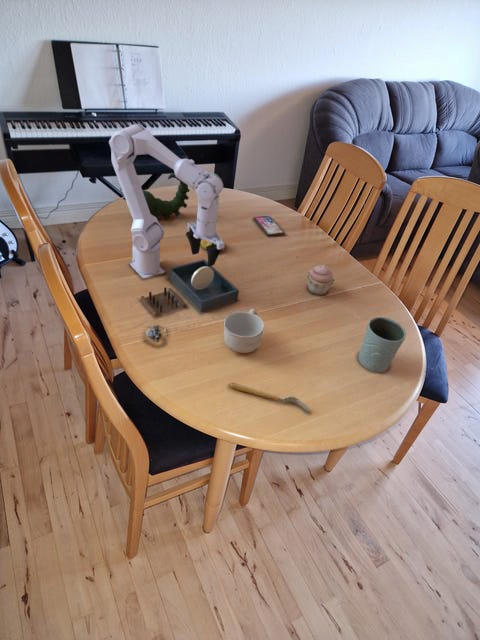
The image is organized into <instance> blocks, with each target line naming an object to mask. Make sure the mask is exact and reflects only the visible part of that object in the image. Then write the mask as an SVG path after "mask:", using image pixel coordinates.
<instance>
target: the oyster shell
mask: <svg viewBox="0 0 480 640" xmlns="http://www.w3.org/2000/svg"><path fill="white" fill-rule="evenodd" d="M162 329H163V332H164V333H165V335H168V333H167V332H168V330H167V328H166V327H162V326H161V325H158V324H157V325H153V326H152V327H151V326H147V327H146V329H145V331H144V335H145V336H146V337H148V338H150V340H152V342H156V343H158V342H159V339H160V338H161V336H162V334H161V331H162Z"/></svg>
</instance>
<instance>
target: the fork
mask: <svg viewBox="0 0 480 640" xmlns="http://www.w3.org/2000/svg"><path fill="white" fill-rule="evenodd" d="M230 388H231V389H233V390H237V391H240V392H243V393H248V394H252V395H254V396H255V395H256V396H260V397H263V398H267V399H271V400H274V401H279V402H290V403H293V404H296V405H298V406H299V407H301V408H302V409H304V410H305V411H306V412H307V413H308V412H309V411H310V409H311V408H310V407H309V406H308V405H307V404H305V403H304V402H303V401H301V399H299V398H298V397H296V396H292V395H290V396H286V397H284V398H282V397H279V396H277V395H274V394H270V393H267V392H264V391H261V390H257V389H254V388H251V387H248V386H245V385H242V384H238V383H235V382H231V383H230Z"/></svg>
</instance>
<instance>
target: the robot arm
mask: <svg viewBox="0 0 480 640" xmlns="http://www.w3.org/2000/svg"><path fill="white" fill-rule="evenodd" d="M108 145H109V147H110V152H111V158H110V159H111V160H110V161H111V165H112V167H113V169H114V172H115V175H116V178H117V180H118V183H119V185H120V188H121V191H122V194H123V196H124V197H125V199H126V201H125V202H126V204H127V207H128V210H129V212H130V215H131V218H132V224H131V227H130V228H131V229H130V232H131V237H132V238H131V241H132V249H131V251H132V262H130V263H129V265H130V266H131V268H132V269H133V270H134V271H136V272H137V273H138V275H139V276H140V277H141V278H142V279H145V278H149V277H153V276H157V275H161V274H164V273H166V271H165V270H164V269H163V268H162V267H161V240H162V239H163V238H164V236H165V230H164V228H163V226H162V225H161V224H160V222H159V220H157V218H156V217H154V216H153V215H152V214H150V211H149V208H148V205H147V202H146V200H145V197H144V194H143V191H142V190H143V188H142V186H141V182H140V179H139V176H138V174H137V171H136V168H135V165H134V161H135V159H136V158H137V156H140V155H142V156H143V155H149V156H151V157H152V158H153V159H156V160H157V161H159V162H160V163H162V164H163V165H166V166H167V167H168V168H169V169H172V170H173V173H175V176H176V177H177V178H178V179H180V180H181V181H182V182H184V183H185V184H187V185H188V188H191V189H192V190H193V191H195V195H196V197H197V209H196V211H197V212H196V222H195V221H193V220H192V221H189V222H187V230H189V231H186V232H185V237H186V238H187V239H188V243H189V245H190V250H191V254H192V255H198V254H200V249H201V240H202V239H203V240H205V241H208V242H211V243H212V245H209V246H206V249H205V250H206V253H207V262H208V266H213V267H214V266H215V264H216V262H217V260H218V258H219V256H220V254H221V253H222V252H223V251H224V250H225V248H224V243H225V244H226V241H224V240H223V239H222V238H221V237H220V236H219V235H218V233H217V231H216V230H217V223H218V214H219V201H220V194H221V193H222V191H223V189H224V182H223V179H222V178H221V177H220V176H219V175H218V174H216V173H209V171H207V170H204V169H202V168H201V167H200V166H198V165H197V164H195V161H194V159H192V158H191V159H188V158H180V157H179V156H178V155H176V154H175V153H174V152H173V151H172V150H171V149H169V148H168V147H167V146H166V145H164V144H163V143H162V142H160V141H159V139H157V138H156V137H155V136H154V135H153V133H152V132H151V130H149V129H146V128H145V127H144V126H143V125H141V124H139V123H133V124H131V125H130V126H127V127H125V128H123V129H120V130H116V131H115V132H114V133H113V134H112V135H111V137H110V138H109V141H108ZM221 239H222V240H223V241H224V242H223V241H222V240H221ZM223 249H224V250H223ZM222 250H223V251H222Z"/></svg>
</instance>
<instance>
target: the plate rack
mask: <svg viewBox="0 0 480 640" xmlns="http://www.w3.org/2000/svg"><path fill="white" fill-rule="evenodd" d="M140 300H141V301H142V302H143V304H144V305H145V306H146V307H147V308H148V310H149V311H150V312H151V313H152V315H153V316H155V317H158V316H161V315H163V314H166V313H170V312H172V311H177V310H179V309H182V308H185V307H186V302H185V301H184V300H183V299H182V298H181V297H180V296H179V295H178V294H177V293H176V292H175V291H174V290H173V288H171V287H169V288H167V287H164V288H163V292H161V293H157V294H153V293H152V291H149V292H148V296H147V297H145V296H144V295H142V296H140Z"/></svg>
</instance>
